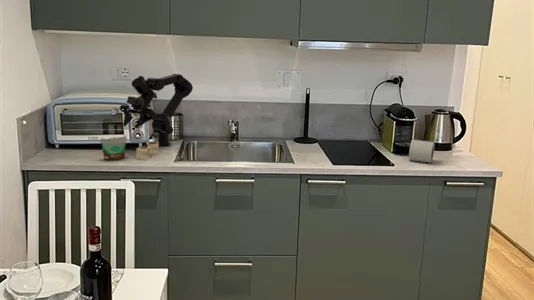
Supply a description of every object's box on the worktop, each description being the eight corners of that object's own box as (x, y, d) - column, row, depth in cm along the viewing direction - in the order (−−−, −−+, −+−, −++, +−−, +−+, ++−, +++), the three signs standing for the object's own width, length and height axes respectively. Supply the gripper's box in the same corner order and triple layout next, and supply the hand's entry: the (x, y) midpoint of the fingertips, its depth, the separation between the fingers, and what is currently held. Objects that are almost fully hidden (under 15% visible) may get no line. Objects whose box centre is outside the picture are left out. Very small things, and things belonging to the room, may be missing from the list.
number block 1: (141, 156, 243) (140, 145, 242) (151, 157, 242) (151, 146, 241) (136, 159, 238) (136, 148, 237) (147, 160, 237) (146, 149, 236)
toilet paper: (432, 160, 253) (435, 140, 251) (429, 165, 244) (432, 144, 242) (411, 157, 257) (413, 137, 255) (408, 162, 248) (410, 141, 246)
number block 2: (147, 152, 251) (147, 141, 250) (158, 152, 252) (158, 141, 251) (148, 155, 246) (147, 144, 245) (158, 154, 247) (158, 143, 246)
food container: (106, 162, 231) (105, 140, 229) (100, 159, 236) (99, 138, 233) (132, 158, 239) (131, 137, 236) (126, 155, 243) (125, 134, 241)
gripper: (121, 87, 246) (105, 114, 239) (152, 91, 238) (136, 119, 231) (133, 102, 255) (118, 128, 248) (163, 106, 246) (148, 133, 240)
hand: (129, 126), depth 242 cm, fingers open, 7 cm apart
